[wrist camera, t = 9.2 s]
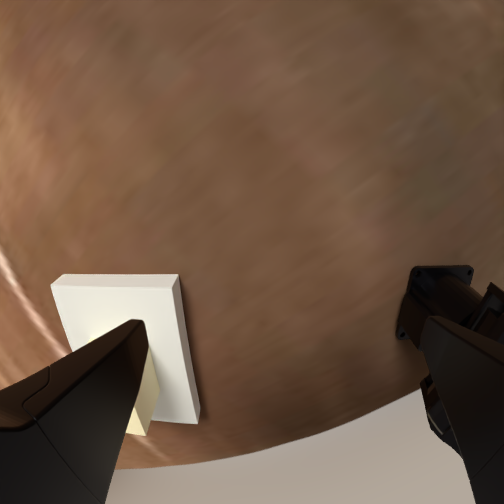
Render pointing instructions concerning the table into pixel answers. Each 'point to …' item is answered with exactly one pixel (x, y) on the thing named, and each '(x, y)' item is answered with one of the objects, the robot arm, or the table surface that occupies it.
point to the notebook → (156, 321)
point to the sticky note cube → (144, 399)
